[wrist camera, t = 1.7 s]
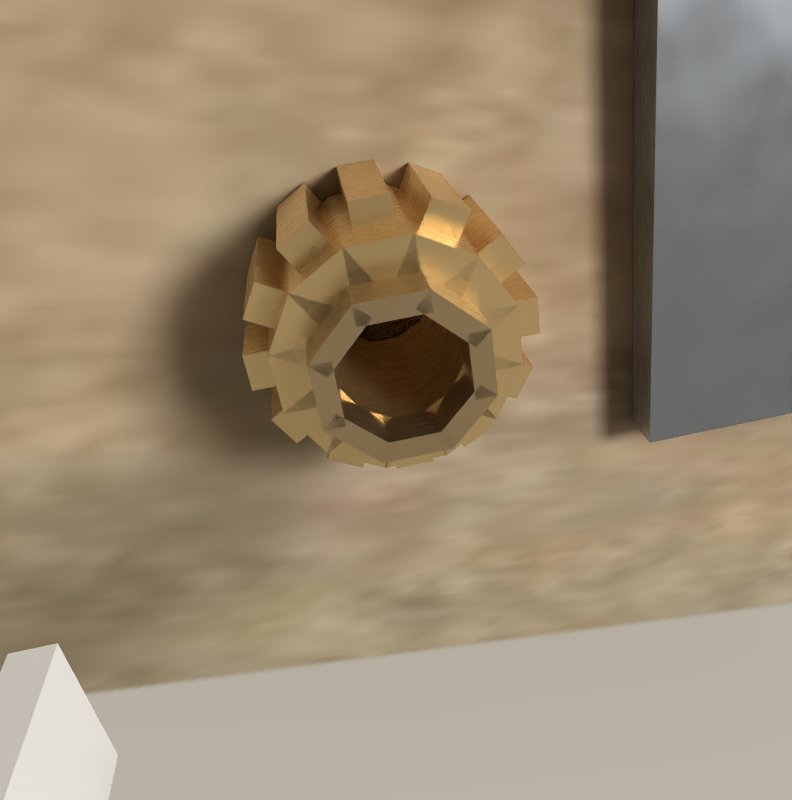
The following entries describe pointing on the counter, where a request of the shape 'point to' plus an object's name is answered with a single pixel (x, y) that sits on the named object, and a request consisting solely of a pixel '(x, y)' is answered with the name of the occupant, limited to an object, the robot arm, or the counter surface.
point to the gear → (386, 318)
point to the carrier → (712, 214)
